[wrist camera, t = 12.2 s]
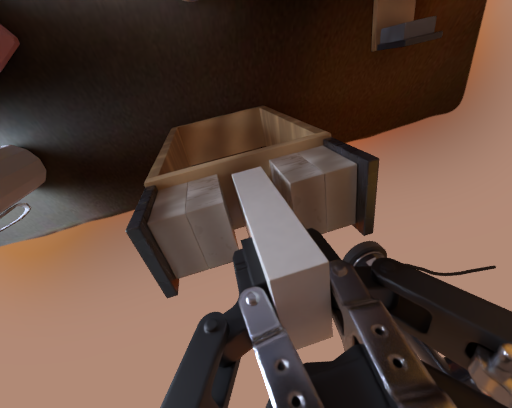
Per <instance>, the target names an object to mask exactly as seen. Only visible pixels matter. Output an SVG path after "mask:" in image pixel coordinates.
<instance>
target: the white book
mask: <svg viewBox="0 0 512 408" xmlns="http://www.w3.org/2000/svg"><path fill="white" fill-rule="evenodd" d="M232 179H233V182H234V186H235V190H236V193H237V197H238V201H239V204H240V208H241V211H242V215H243V219H244V222H245V226H246V229H247V232H248V235H249V238H250V237H252V240H253V243H254V246H255V249H256V252H257V255H258V258H259V261H260V263H261V266H262V269H263V272H264V275H265V278H266V281H267V285H268V289H269V293H270V296H271V300H272V304H273V308H274V311H275V313H276V315H277V317H278V319H279V321H280V323H281V325H282V327H284V328H285V330H286V331H287V333H288V335H289V337H290V339H291V341H292V343H293V345H294V347H295V349H296V350H297V349H300V348H303V347H306V346H308V345H311V344H314V343H317V342H320V341H322V340H325V339H328V338H331V337H333V331H332V311H331V291H330V270H329V261H328V259H327V258H326V257H325V255H324V254H323V252H322V251H321V250H320V248H319V247H318V246H317V244H316V243H315V241H314V240H313V239H312V237H311V236H310V234H309V233H308V232H307V230H306V229H305V227H304V226H303V225H302V223H301V222H300V220H299V219H298V218H297V216H296V215H295V213H294V212H293V211H292V209H291V208H290V207H289V205H288V204H287V202H286V201H285V200H284V198H283V197H282V195H281V194H280V193H279V191H278V190H277V188H276V187H275V186H274V184H273V183H272V181H271V180H270V179H269V177H268V176H267V174H266V173H265V172H264V170H263V169H262V167H261V166H260V167H256V168H253V169H249V170H245V171H242V172H238V173H235V174H232Z"/></svg>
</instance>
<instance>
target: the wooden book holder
mask: <svg viewBox="0 0 512 408" xmlns="http://www.w3.org/2000/svg"><path fill="white" fill-rule="evenodd" d="M260 166H261V167H262V169H263V170H264V172H265V173H266V174H267V176H268V177H269V179H270V180H271V181H272V183H273V184H274V186H275V187H276V188H277V190H278V191H279V193H280V194H281V195H282V197H283V198H284V200H285V201H286V202H287V204H288V205H289V207H290V208H291V209H292V211H293V212H294V213H295V215H296V216H297V218H298V219H299V220H300V222H301V223H302V224H303V225H304V226H305V228H306V229H309V228H313V229H315V230H317V231H319V232H320V234H324V233H327V232H330V231H333V230H336V229H339V228H343V227H346V226H349V225H353V226H354V227H355V228H356V229H358V231H359V232H360V233H362V235H364V236H365V235H368V234H372V233H373V227H374V216H375V204H376V192H377V180H378V168H379V158H377V157H375V156H373V155H371V154H368V153H366V152H364V151H362V150H359V149H357V148H355V147H352V146H350V145H348V144H346V143H343V142H341V141H339V140H337V139H334V138H332V137H331V133H329V132H326V131H324V132H320V133H316V134H312V135H309V136H305V137H301V138H297V139H294V140H290V141H286V142H282V143H279V144H275V145H271V146H267V147H264V148H260V149H256V150H252V151H249V152H245V153H241V154H237V155H234V156H230V157H226V158H222V159H219V160H215V161H211V162H207V163H204V164H200V165H196V166H192V167H189V168H185V169H181V170H178V171H174V172H170V173H166V174H163V175H159V176H155V177H151V178H148V179H146V180H145V182H144V185H145V187H146V188H145V190H144V192H143V194H142V196H141V198H140V201H139V203H138V205H137V207H136V209H135V211H134V213H133V216H132V218H131V220H130V222H129V224H128V226H127V229H126V233H127V234H128V236H129V238H130V239H131V241H132V243H133V244H134V246H135V247H136V249H137V251H138V252H139V254H140V255H141V257H142V258H143V260H144V262H145V264H146V265H147V267H148V268H149V270H150V272H151V273H152V275H153V276H154V278H155V280H156V281H157V283H158V284H159V286H160V288H161V289H162V291H163V293H164V294H165V296H166V297H167V298H170V297H173V296H176V295H178V286H179V278H182V277H185V276H188V275H192V274H195V273H198V272H201V271H204V270H208V269H211V268H215V267H218V266H221V265H224V264H228V263H231V262H233V255H234V252H235V251H237V250H239V248H238V244H237V240H236V236H235V232H234V229H238V228H241V227H244V226H245V222H244V219H243V215H242V211H241V208H240V204H239V201H238V197H237V193H236V190H235V186H234V182H233V179H232V174H235V173H238V172H242V171H245V170H249V169H253V168H256V167H260Z"/></svg>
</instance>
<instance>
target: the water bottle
mask: <svg viewBox="0 0 512 408" xmlns="http://www.w3.org/2000/svg"><path fill="white" fill-rule="evenodd" d="M45 180H46V169H45V167H44V165H43V164H42V162H41V160H40V159H39V158H38V157H36V156H35V155H34V154H32V153H31V152H30V151H28V150H27V149H23V148H20V147H16V146H13V145H5V146H0V213H2V212H3V211H5V210H6V209H8V208H9V207H11V206H12V205H13V204H15V203H16V202H18V201H19V200H21V199H22V198H24V197H25V196H26V195H28V194H29V193H31V192H32V191H34V190H35V189H37V188H38V187H39V186H40V185H41V184H42V183H44V182H45ZM16 206H21V207H23V208H24V209H26V210H25V211H24V213H23V214H22V215H21V216H20V217H19V218H18V219H17V220H16V221H14V222H13V223H11V224H9V225H7V226H6V227H4V228H2V229H1V230H0V232H1V231H3V230H4V229H6V228H8V227H9V226H11V225H13V224H15V223H16V222H18V221H20V220H21V219H23V218H24V217H25V216H26V215H27V214H28V213H29V211H30V209H31V207H30V206H29V205H28V204H27V203H20V204H16V205H14V206H13V207H11V208H9V209H8V210H6V211H5V212H4V213H3V214H1V215H0V219H1V218H2V217H3V216H5V215H6V214H7V213H9V212H10V211H11V210H13V209H14V208H15V207H16Z"/></svg>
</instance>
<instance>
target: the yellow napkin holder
mask: <svg viewBox="0 0 512 408" xmlns="http://www.w3.org/2000/svg"><path fill="white" fill-rule="evenodd" d="M19 44H20V43H19V41H18V38H17V37H16V36H15V35H13V34H12V33H11V32H10V31H8V30H7V29H6V28H5V27H3V26H2V25H1V24H0V73H1V71H2V70H3V68H4V67H5V65H6V64H7V62H8V61H9V59H10V58H11V56H12V55H13V53H14V52H15V50H16V49H17V47H18V46H19Z"/></svg>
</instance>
